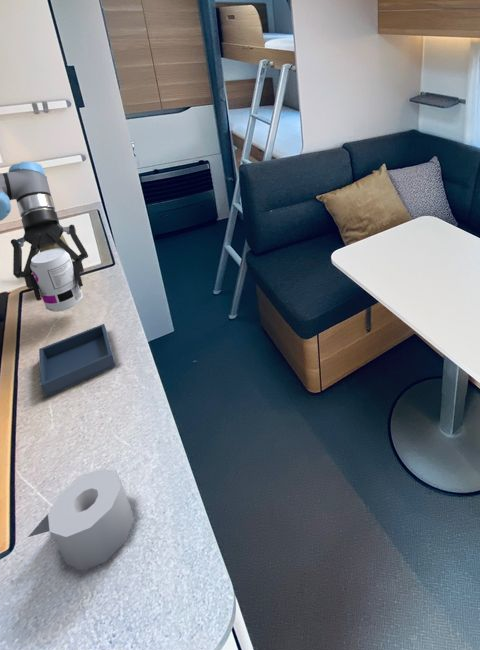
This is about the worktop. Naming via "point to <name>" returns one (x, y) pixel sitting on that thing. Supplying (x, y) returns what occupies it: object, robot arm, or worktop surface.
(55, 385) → the blue open tray
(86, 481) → the toilet tissue
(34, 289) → the robot arm
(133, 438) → the worktop surface
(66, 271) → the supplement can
